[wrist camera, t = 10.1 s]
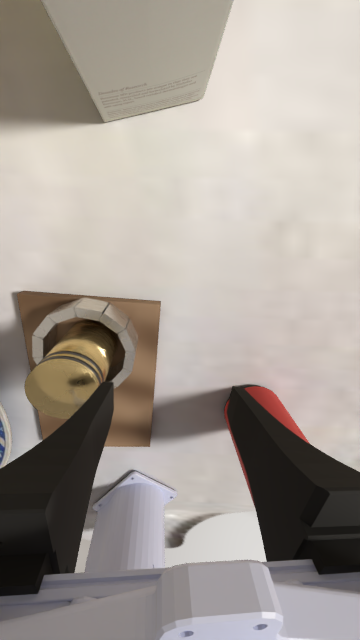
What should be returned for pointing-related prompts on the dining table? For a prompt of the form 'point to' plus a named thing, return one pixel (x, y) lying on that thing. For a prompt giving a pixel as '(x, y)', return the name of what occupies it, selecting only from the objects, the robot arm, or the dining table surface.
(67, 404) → the piston
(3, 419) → the ceramic plate
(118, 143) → the dining table surface
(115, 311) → the ring collar
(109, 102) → the supplement box
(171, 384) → the dining table surface
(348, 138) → the dining table surface
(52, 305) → the walnut board
